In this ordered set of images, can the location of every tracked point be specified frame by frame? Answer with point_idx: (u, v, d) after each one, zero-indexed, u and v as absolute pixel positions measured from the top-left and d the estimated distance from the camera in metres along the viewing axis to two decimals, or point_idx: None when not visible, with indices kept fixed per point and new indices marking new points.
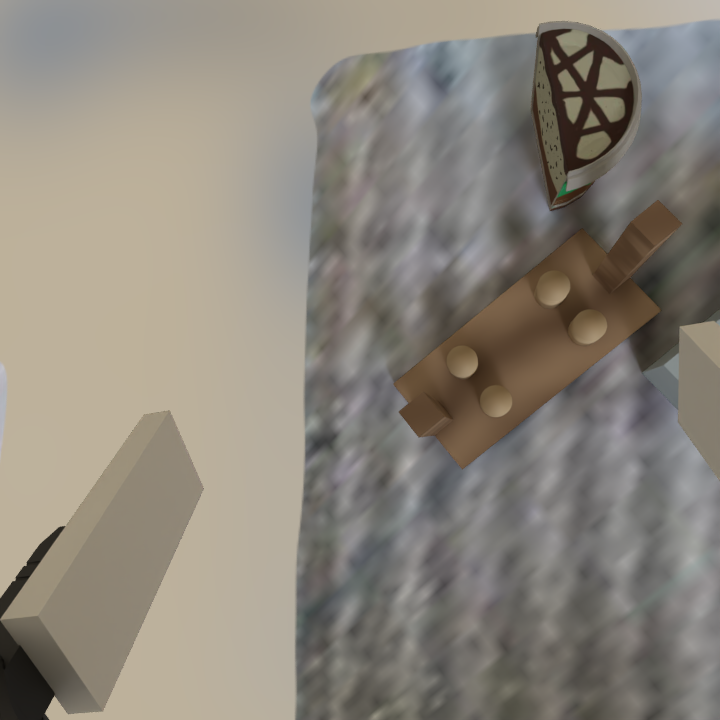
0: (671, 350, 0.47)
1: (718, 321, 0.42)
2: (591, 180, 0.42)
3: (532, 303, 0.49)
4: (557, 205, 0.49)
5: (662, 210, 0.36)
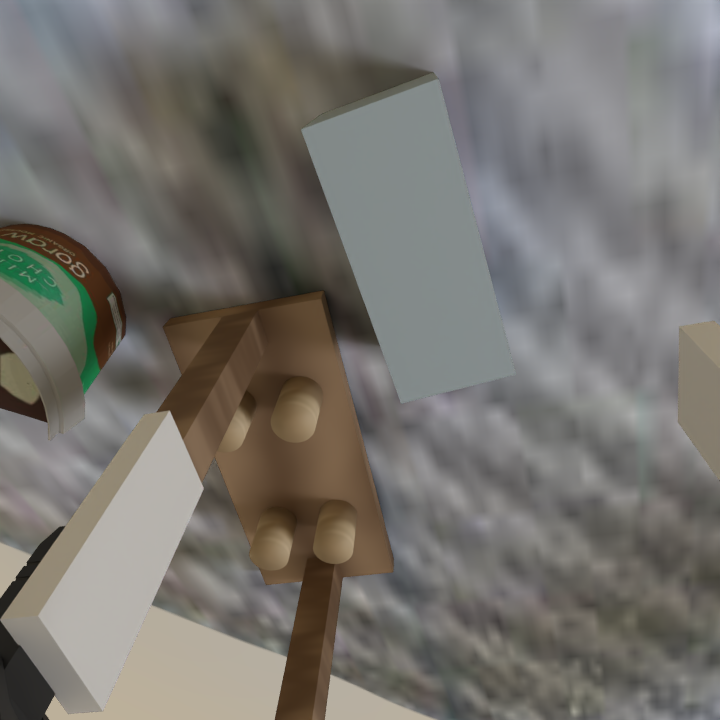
0: None
1: (370, 315, 0.27)
2: (78, 388, 0.27)
3: None
4: (117, 338, 0.33)
5: None
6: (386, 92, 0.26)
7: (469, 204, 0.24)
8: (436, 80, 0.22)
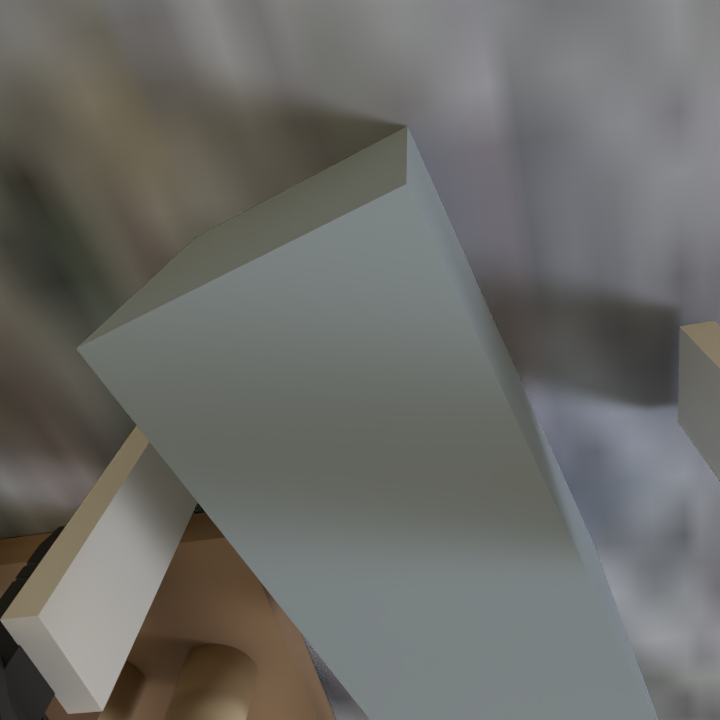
0: None
1: (336, 671, 0.12)
2: None
3: None
4: None
5: None
6: (303, 195, 0.11)
7: (531, 465, 0.09)
8: (401, 189, 0.08)
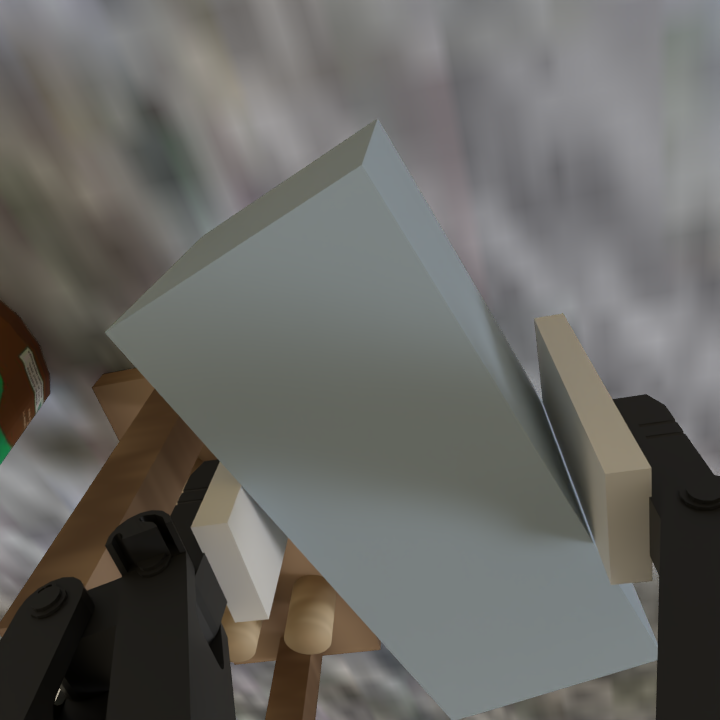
0: None
1: (355, 607, 0.14)
2: None
3: None
4: (38, 402, 0.27)
5: None
6: (288, 188, 0.13)
7: (500, 400, 0.11)
8: (358, 170, 0.09)
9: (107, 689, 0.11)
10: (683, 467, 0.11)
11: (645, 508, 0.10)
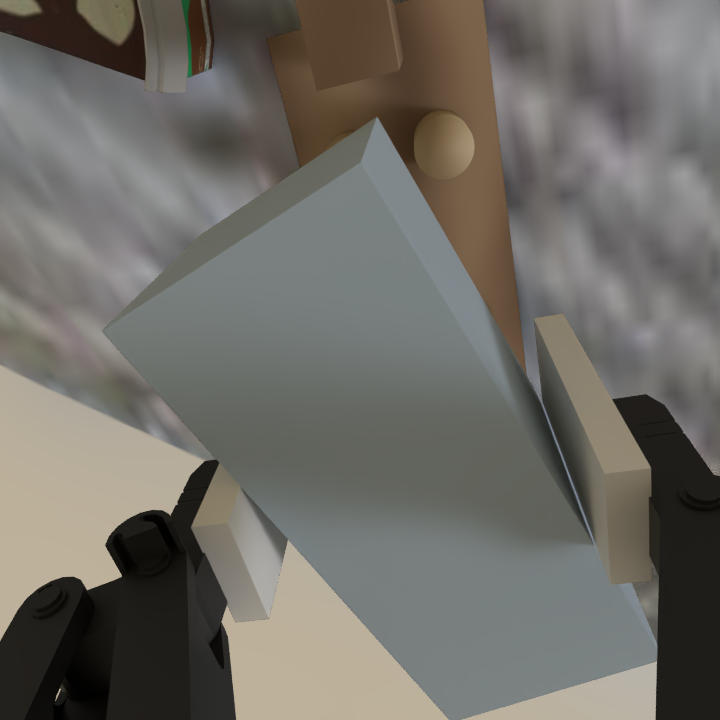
0: None
1: (353, 608, 0.14)
2: (182, 32, 0.19)
3: None
4: (206, 59, 0.26)
5: (325, 0, 0.13)
6: (287, 186, 0.13)
7: (500, 399, 0.11)
8: (357, 167, 0.09)
9: (107, 689, 0.11)
10: (683, 467, 0.11)
11: (645, 508, 0.10)
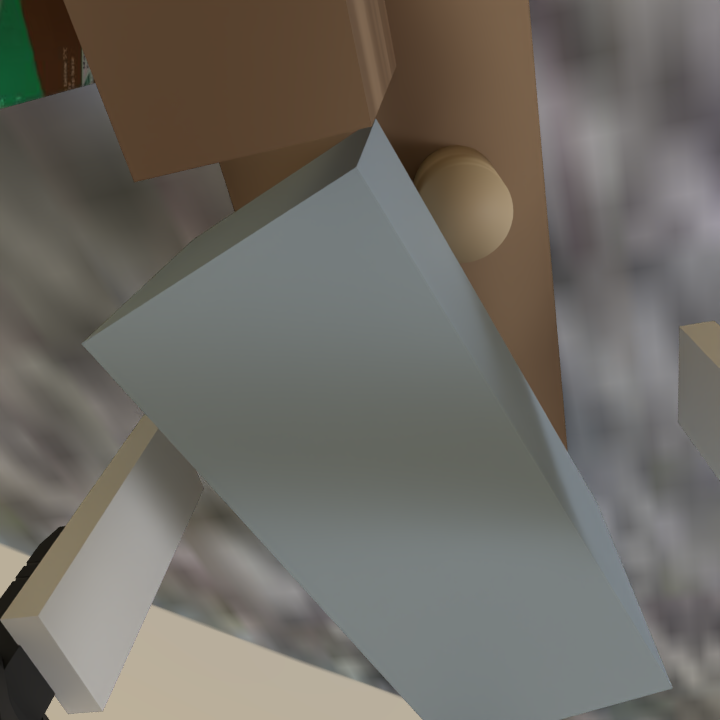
0: None
1: (348, 633, 0.13)
2: None
3: None
4: (86, 67, 0.16)
5: None
6: (280, 191, 0.12)
7: (504, 418, 0.10)
8: (352, 172, 0.08)
9: None
10: None
11: None
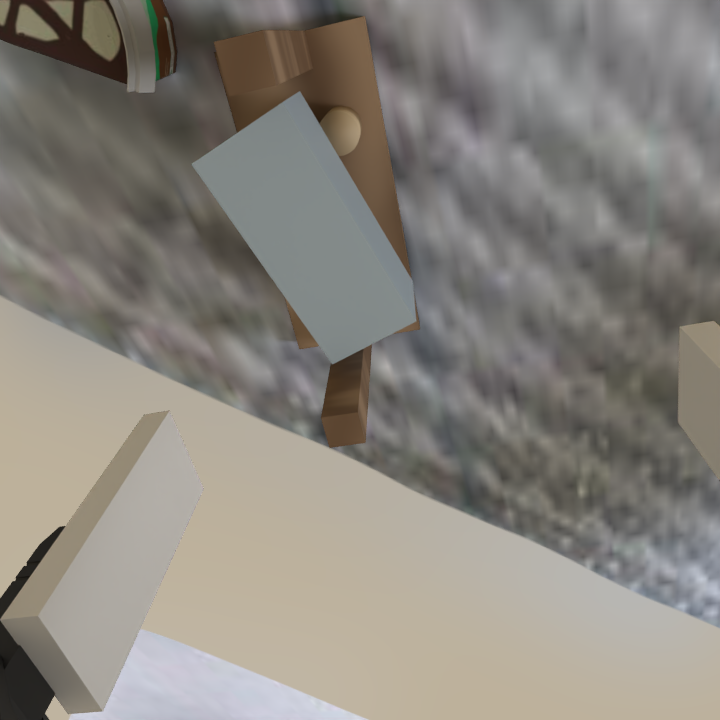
0: None
1: (286, 297, 0.33)
2: (151, 53, 0.29)
3: None
4: (171, 66, 0.36)
5: (231, 45, 0.24)
6: None
7: (336, 192, 0.30)
8: (281, 103, 0.28)
9: None
10: None
11: None
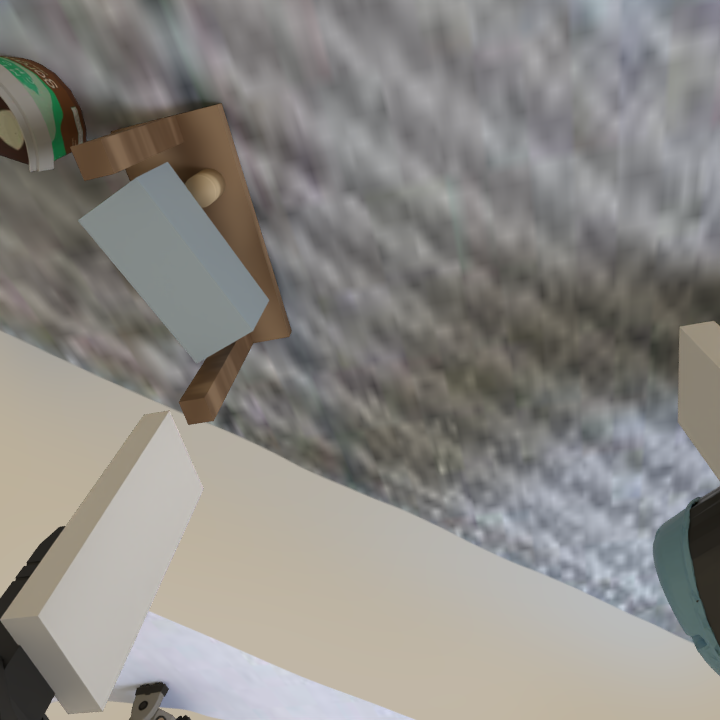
0: None
1: (156, 313, 0.44)
2: (48, 142, 0.41)
3: None
4: (79, 142, 0.48)
5: (81, 148, 0.35)
6: None
7: (181, 239, 0.42)
8: (135, 178, 0.40)
9: None
10: None
11: None
